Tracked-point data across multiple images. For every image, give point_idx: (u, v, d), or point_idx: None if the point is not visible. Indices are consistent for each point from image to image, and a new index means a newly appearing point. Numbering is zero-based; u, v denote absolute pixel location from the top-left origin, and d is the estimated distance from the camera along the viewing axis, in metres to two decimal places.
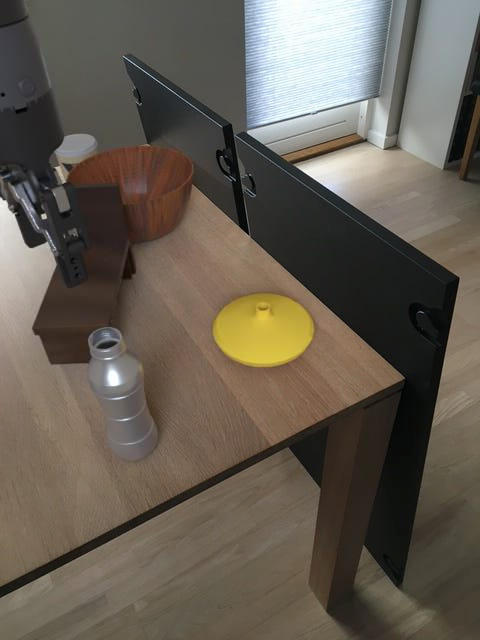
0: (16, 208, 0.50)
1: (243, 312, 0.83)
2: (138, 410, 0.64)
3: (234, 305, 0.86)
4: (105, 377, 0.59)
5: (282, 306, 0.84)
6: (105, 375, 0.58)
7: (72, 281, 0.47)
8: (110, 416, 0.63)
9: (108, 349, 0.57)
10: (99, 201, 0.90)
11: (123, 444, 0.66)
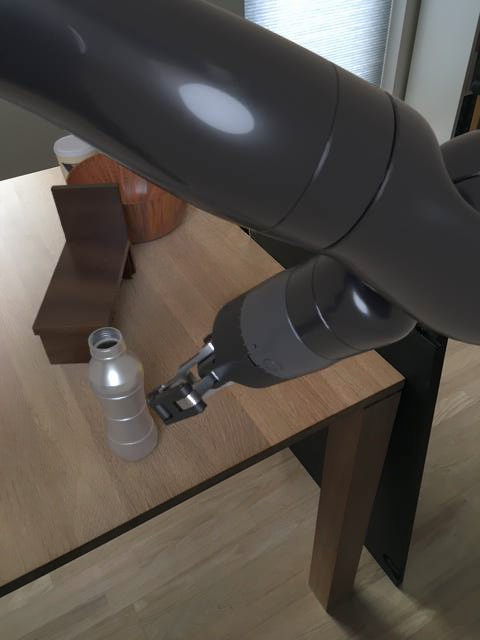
0: None
1: None
2: (138, 410, 0.64)
3: None
4: (105, 377, 0.59)
5: None
6: (105, 375, 0.58)
7: (148, 401, 0.48)
8: (110, 416, 0.63)
9: (108, 349, 0.57)
10: (99, 201, 0.90)
11: (123, 444, 0.66)
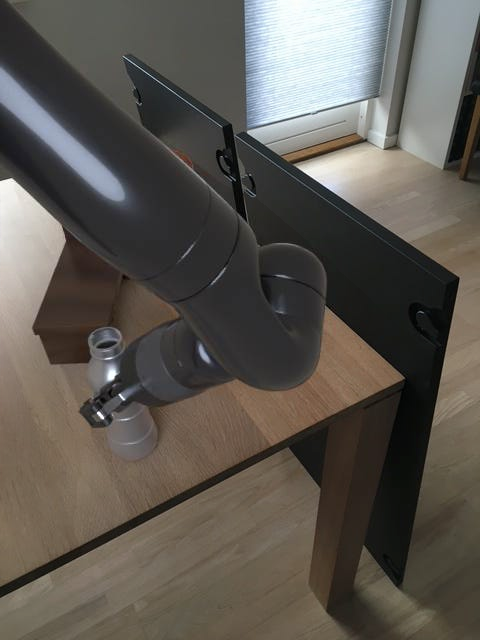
0: None
1: None
2: (138, 410, 0.64)
3: None
4: (105, 377, 0.59)
5: None
6: (105, 375, 0.58)
7: None
8: None
9: (108, 349, 0.57)
10: None
11: (123, 444, 0.66)
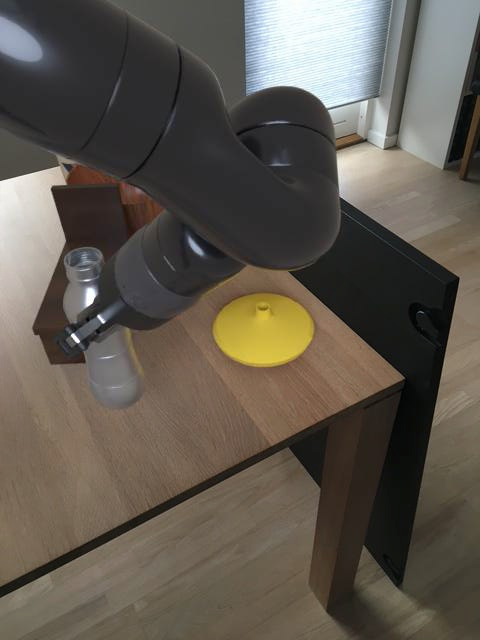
0: None
1: (243, 312, 0.83)
2: (122, 347, 0.56)
3: (234, 305, 0.86)
4: (84, 303, 0.52)
5: (282, 306, 0.84)
6: (83, 300, 0.51)
7: None
8: (91, 354, 0.56)
9: (86, 268, 0.50)
10: (99, 201, 0.90)
11: (106, 388, 0.59)
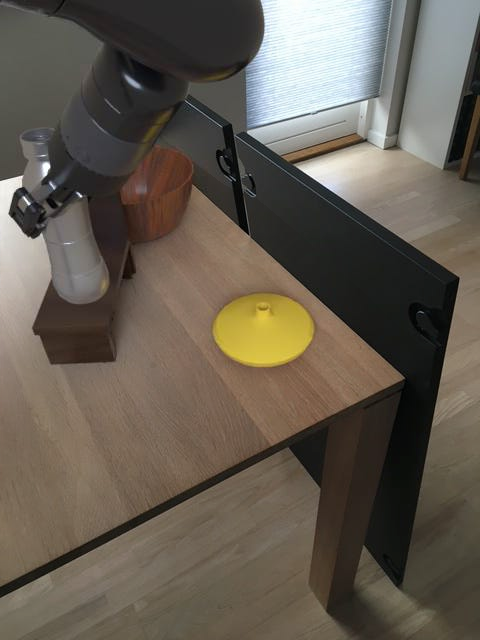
0: None
1: (243, 312, 0.83)
2: (81, 233, 0.58)
3: (234, 305, 0.86)
4: (40, 180, 0.53)
5: (282, 306, 0.84)
6: (39, 177, 0.53)
7: None
8: (51, 239, 0.58)
9: (41, 142, 0.51)
10: (99, 201, 0.90)
11: (68, 278, 0.60)
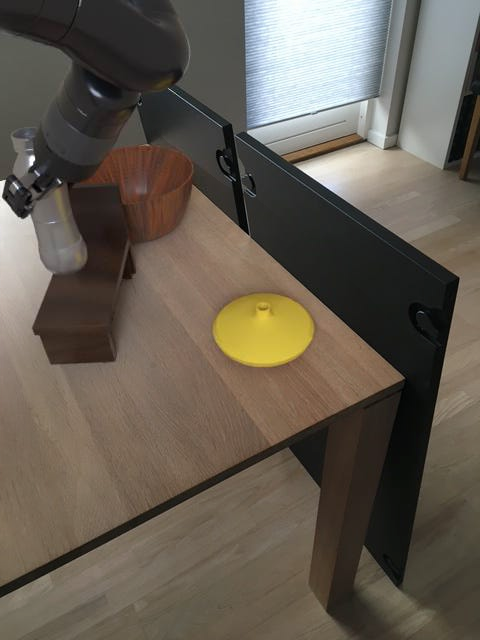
0: None
1: (243, 312, 0.83)
2: (62, 214, 0.70)
3: (234, 305, 0.86)
4: (27, 170, 0.65)
5: (282, 306, 0.84)
6: (26, 167, 0.65)
7: None
8: (37, 219, 0.70)
9: (27, 138, 0.63)
10: (99, 201, 0.90)
11: (52, 252, 0.73)
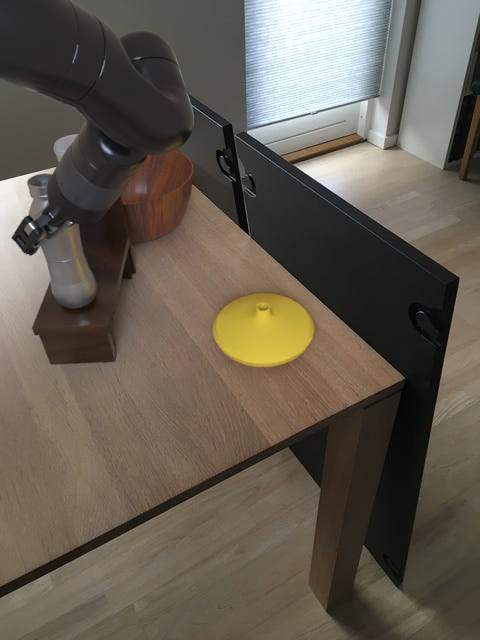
0: None
1: (243, 312, 0.83)
2: (74, 253, 0.74)
3: (234, 305, 0.86)
4: None
5: (282, 306, 0.84)
6: None
7: None
8: (51, 258, 0.74)
9: (43, 186, 0.68)
10: None
11: (64, 288, 0.77)
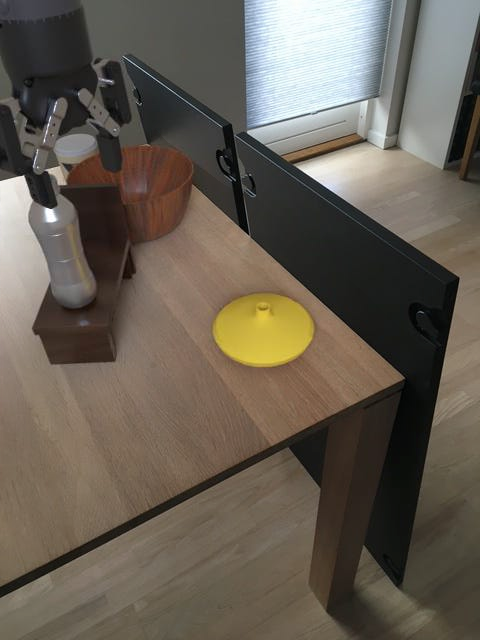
0: (94, 127, 0.54)
1: (243, 312, 0.83)
2: (74, 253, 0.74)
3: (234, 305, 0.86)
4: (42, 214, 0.69)
5: (282, 306, 0.84)
6: (41, 212, 0.69)
7: (32, 198, 0.50)
8: (51, 258, 0.74)
9: None
10: (99, 201, 0.90)
11: (64, 288, 0.77)
